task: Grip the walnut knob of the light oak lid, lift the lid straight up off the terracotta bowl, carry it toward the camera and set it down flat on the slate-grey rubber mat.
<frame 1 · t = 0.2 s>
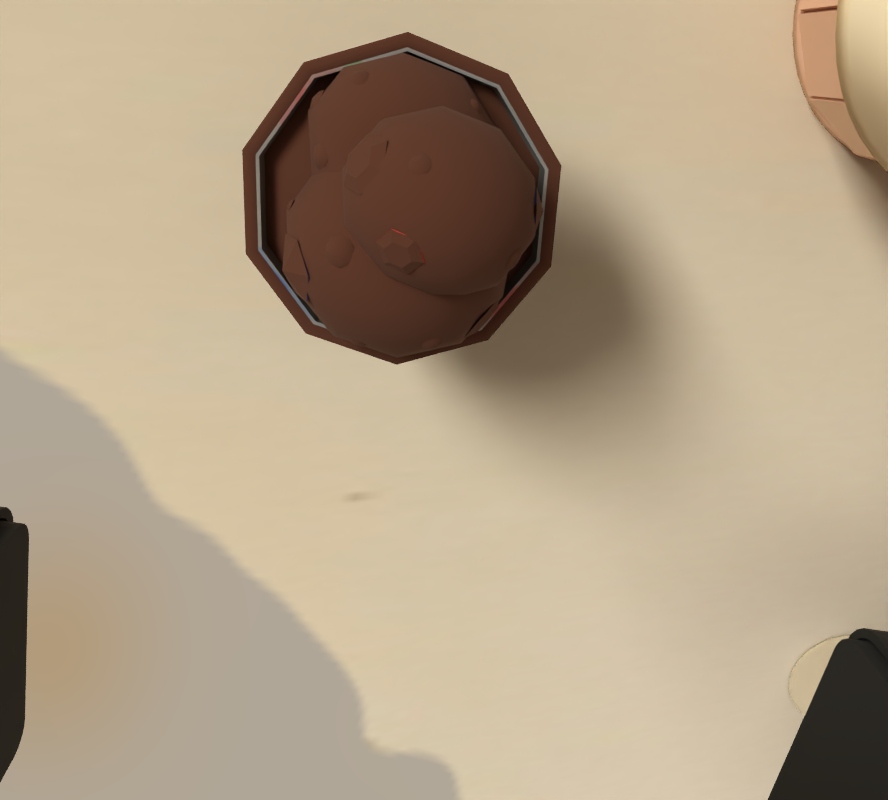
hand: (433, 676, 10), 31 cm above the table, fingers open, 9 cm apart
ice cream bowl: (401, 173, 38), on the table
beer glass: (837, 674, 50), on the table
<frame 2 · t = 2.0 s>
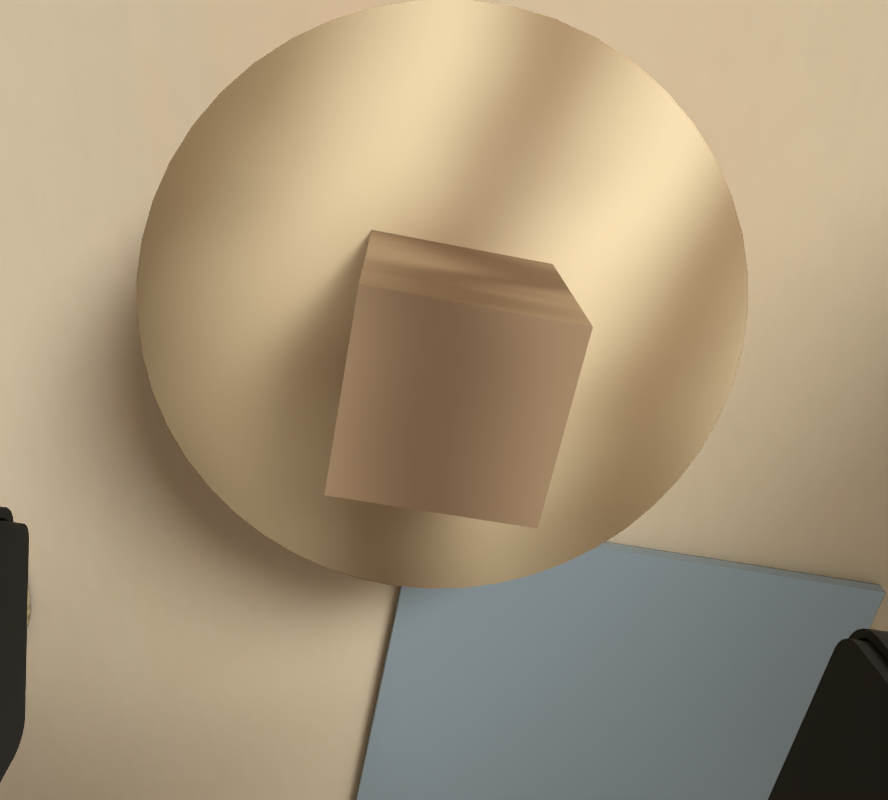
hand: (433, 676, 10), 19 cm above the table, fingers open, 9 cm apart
mat: (601, 706, 34), on the table
lid: (444, 321, 22), point 6 cm above the table, touching bowl
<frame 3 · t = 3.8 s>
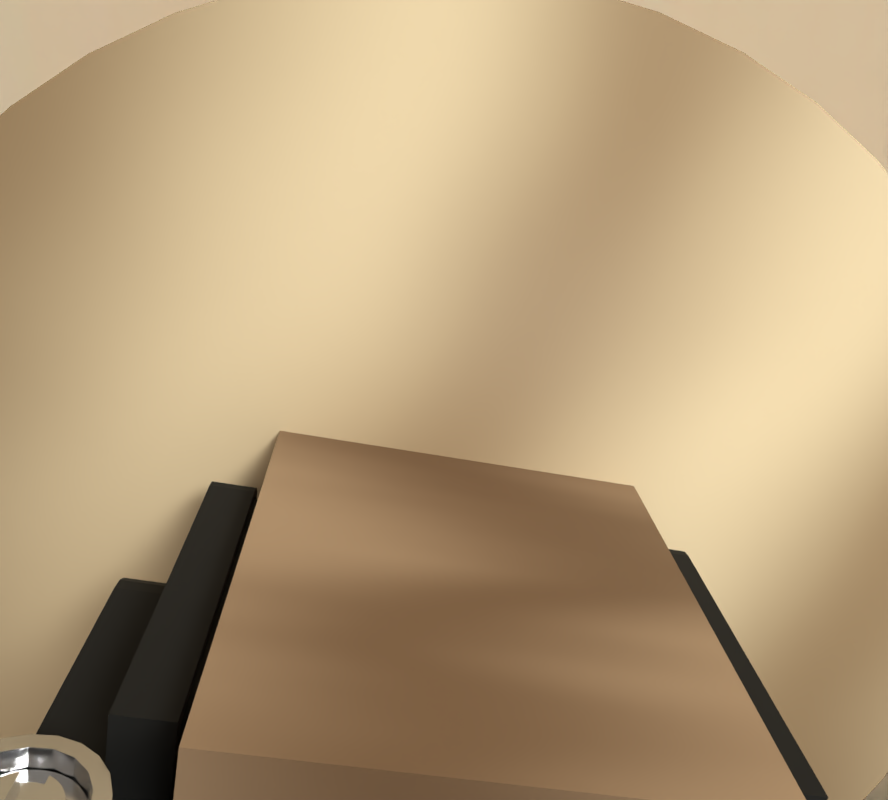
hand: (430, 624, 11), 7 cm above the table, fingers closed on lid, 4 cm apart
lid: (425, 566, 12), point 6 cm above the table, touching gripper
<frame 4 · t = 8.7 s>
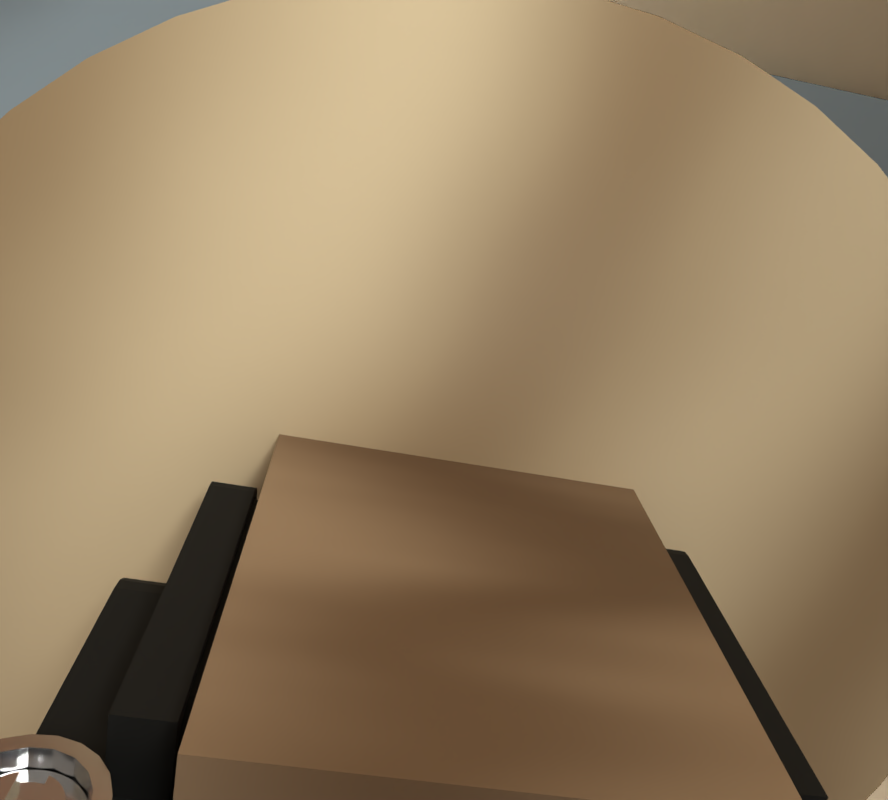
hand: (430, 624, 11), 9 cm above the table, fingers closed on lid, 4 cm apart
mat: (416, 367, 19), on the table
lid: (424, 569, 12), point 8 cm above the table, touching gripper
when the fingers open (4 cm above the table, at t = 10.2 s): lid drops 1 cm, resting on mat.
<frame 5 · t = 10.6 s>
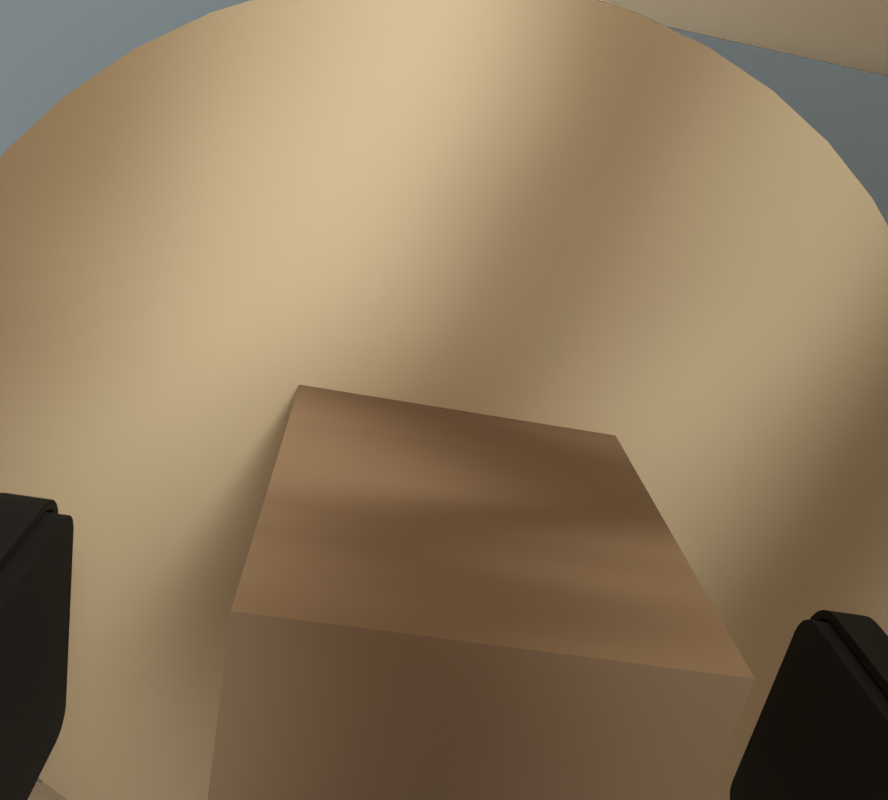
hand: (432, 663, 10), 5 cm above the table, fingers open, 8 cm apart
mat: (421, 468, 15), on the table
lid: (428, 513, 13), point 1 cm above the table, touching mat
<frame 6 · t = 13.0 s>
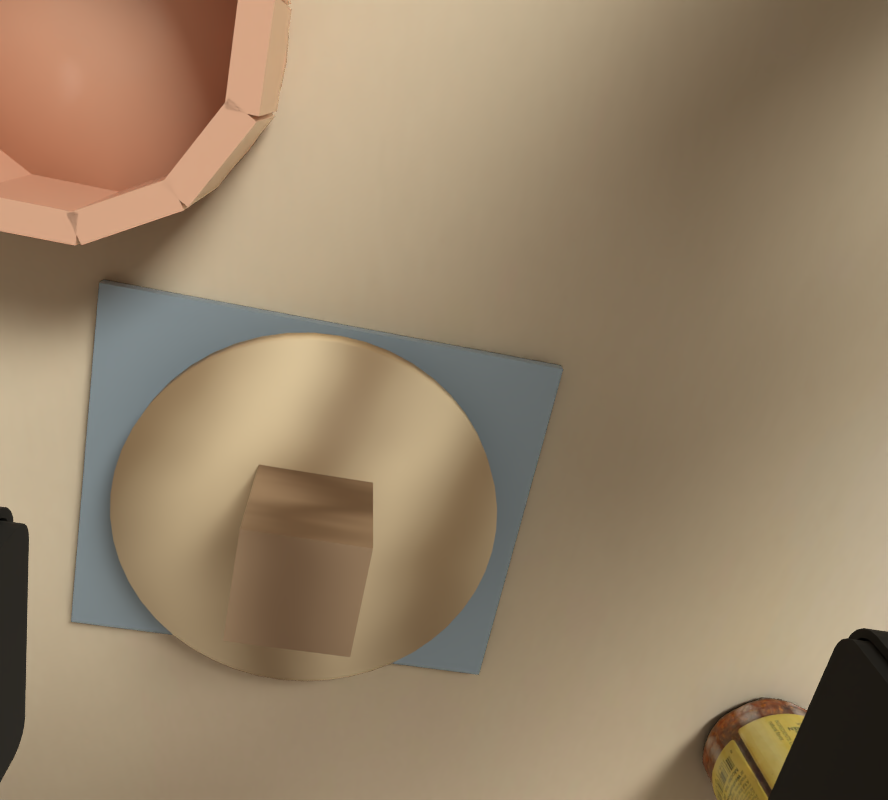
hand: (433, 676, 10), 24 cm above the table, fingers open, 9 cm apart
bowl: (96, 18, 29), on the table
mat: (310, 494, 36), on the table
lid: (309, 511, 34), point 1 cm above the table, touching mat
sauce bottle: (758, 735, 43), on the table
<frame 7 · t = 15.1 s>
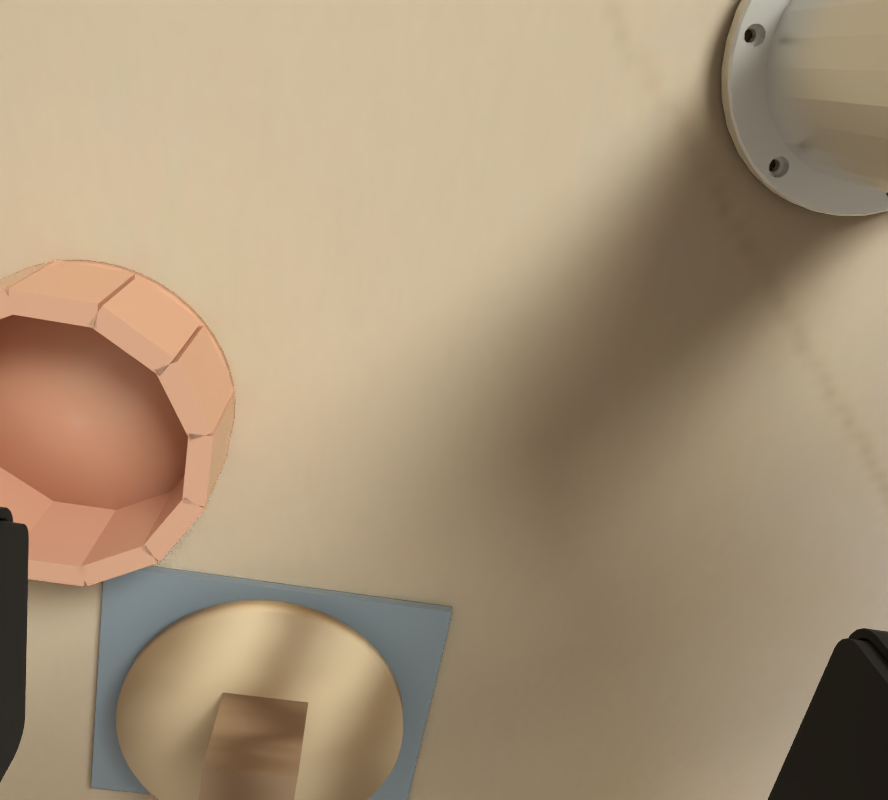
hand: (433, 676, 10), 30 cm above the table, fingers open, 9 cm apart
bowl: (96, 394, 40), on the table
mat: (266, 696, 47), on the table
lid: (264, 716, 46), point 1 cm above the table, touching mat
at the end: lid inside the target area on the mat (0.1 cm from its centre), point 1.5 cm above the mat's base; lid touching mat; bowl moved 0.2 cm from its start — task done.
